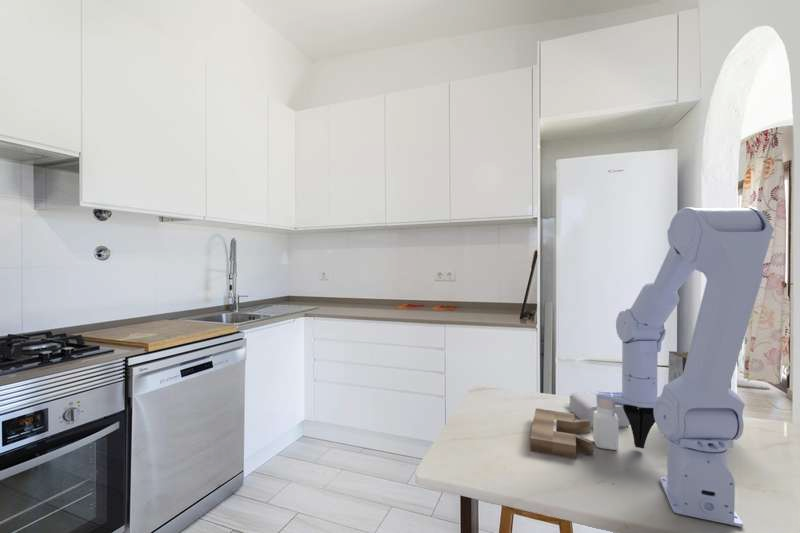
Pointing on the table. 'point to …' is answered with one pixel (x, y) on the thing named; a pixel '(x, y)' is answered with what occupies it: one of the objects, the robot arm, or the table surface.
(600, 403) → the pepper shaker
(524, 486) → the table surface
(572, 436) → the locating nest
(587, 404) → the charger
